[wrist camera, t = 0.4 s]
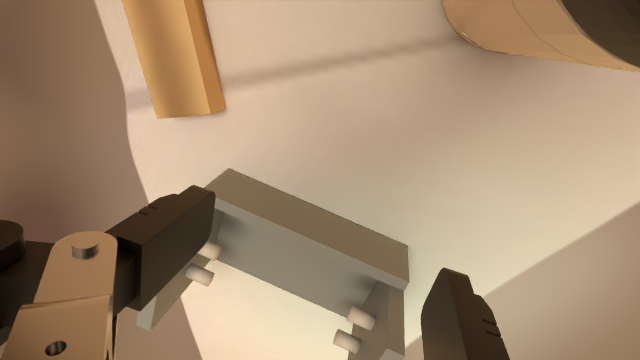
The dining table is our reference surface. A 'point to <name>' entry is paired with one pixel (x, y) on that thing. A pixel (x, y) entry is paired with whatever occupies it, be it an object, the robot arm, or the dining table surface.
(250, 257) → the grey rack
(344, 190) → the dining table surface
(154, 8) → the shelf board
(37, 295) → the robot arm
